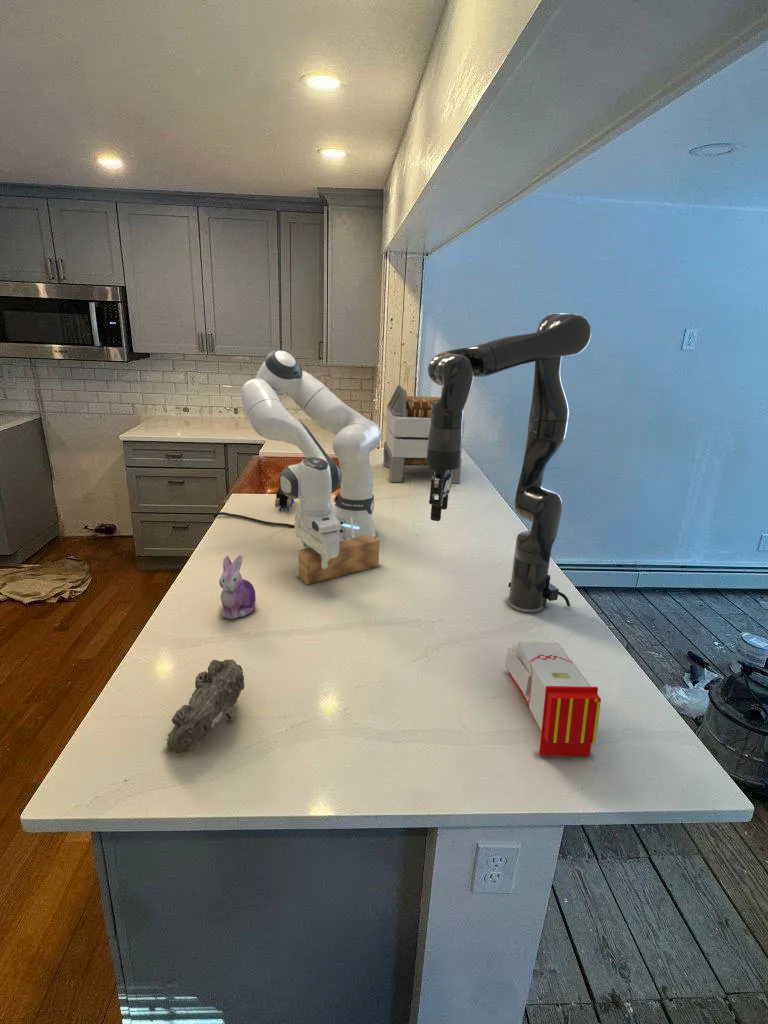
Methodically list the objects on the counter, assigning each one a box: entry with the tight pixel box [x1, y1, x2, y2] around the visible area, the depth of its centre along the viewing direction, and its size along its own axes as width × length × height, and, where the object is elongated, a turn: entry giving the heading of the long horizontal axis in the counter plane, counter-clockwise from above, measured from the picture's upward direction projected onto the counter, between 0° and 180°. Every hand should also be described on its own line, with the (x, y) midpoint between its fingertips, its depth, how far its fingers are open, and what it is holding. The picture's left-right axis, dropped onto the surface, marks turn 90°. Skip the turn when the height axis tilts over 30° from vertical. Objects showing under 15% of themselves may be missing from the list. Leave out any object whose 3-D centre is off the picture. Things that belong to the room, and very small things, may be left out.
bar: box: [298, 535, 381, 585], centre depth 168 cm, size 24×5×9 cm, turn 125°
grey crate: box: [383, 384, 465, 484], centre depth 268 cm, size 34×33×41 cm
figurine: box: [218, 554, 256, 619], centre depth 143 cm, size 9×10×15 cm
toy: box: [505, 641, 602, 757], centre depth 113 cm, size 12×13×30 cm
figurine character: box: [274, 486, 295, 512], centre depth 220 cm, size 7×8×15 cm
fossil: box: [166, 658, 245, 754], centre depth 106 cm, size 22×10×15 cm
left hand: (315, 561), depth 163 cm, fingers open, 8 cm apart
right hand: (439, 514), depth 132 cm, fingers open, 8 cm apart
